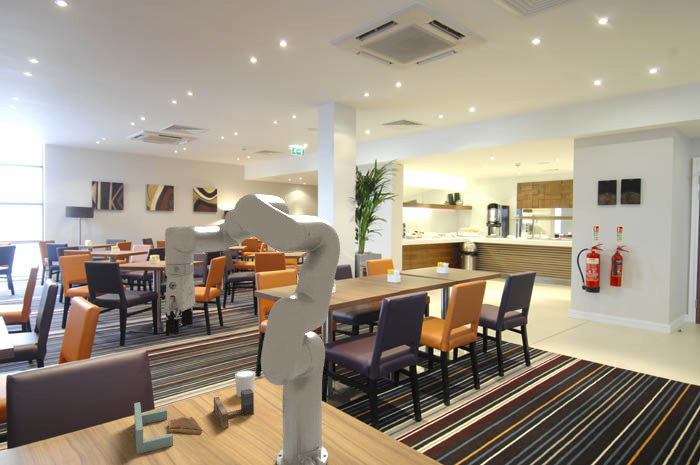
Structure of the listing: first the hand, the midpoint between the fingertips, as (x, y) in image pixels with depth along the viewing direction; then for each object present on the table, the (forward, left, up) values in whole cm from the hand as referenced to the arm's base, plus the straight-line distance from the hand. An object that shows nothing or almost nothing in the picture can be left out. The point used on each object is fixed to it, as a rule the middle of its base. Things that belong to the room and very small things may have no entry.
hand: (180, 328), depth 118 cm
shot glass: (+12, -22, -28) cm, 37 cm away
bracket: (-2, +8, -28) cm, 29 cm away
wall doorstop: (-2, -15, -28) cm, 32 cm away
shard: (-2, -2, -29) cm, 29 cm away
